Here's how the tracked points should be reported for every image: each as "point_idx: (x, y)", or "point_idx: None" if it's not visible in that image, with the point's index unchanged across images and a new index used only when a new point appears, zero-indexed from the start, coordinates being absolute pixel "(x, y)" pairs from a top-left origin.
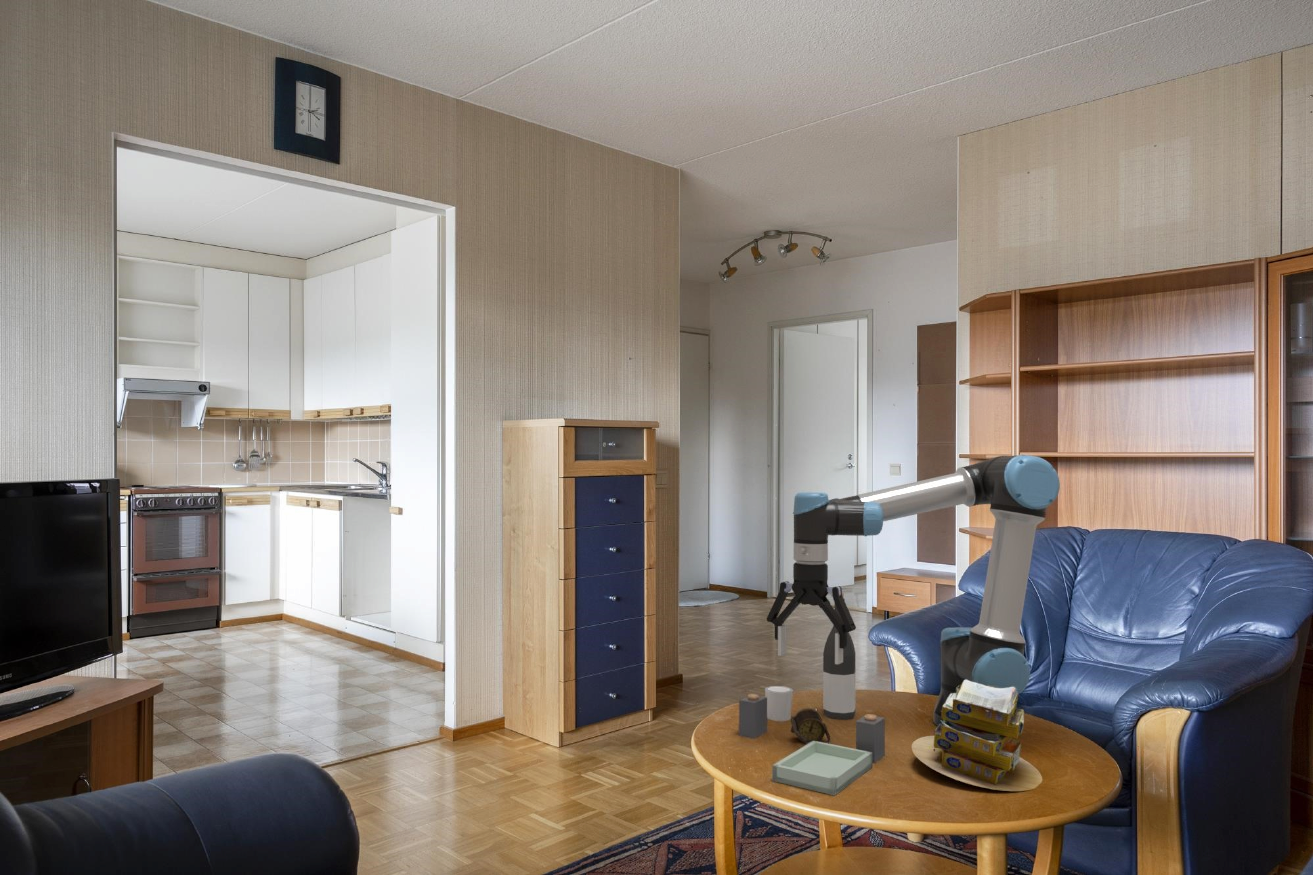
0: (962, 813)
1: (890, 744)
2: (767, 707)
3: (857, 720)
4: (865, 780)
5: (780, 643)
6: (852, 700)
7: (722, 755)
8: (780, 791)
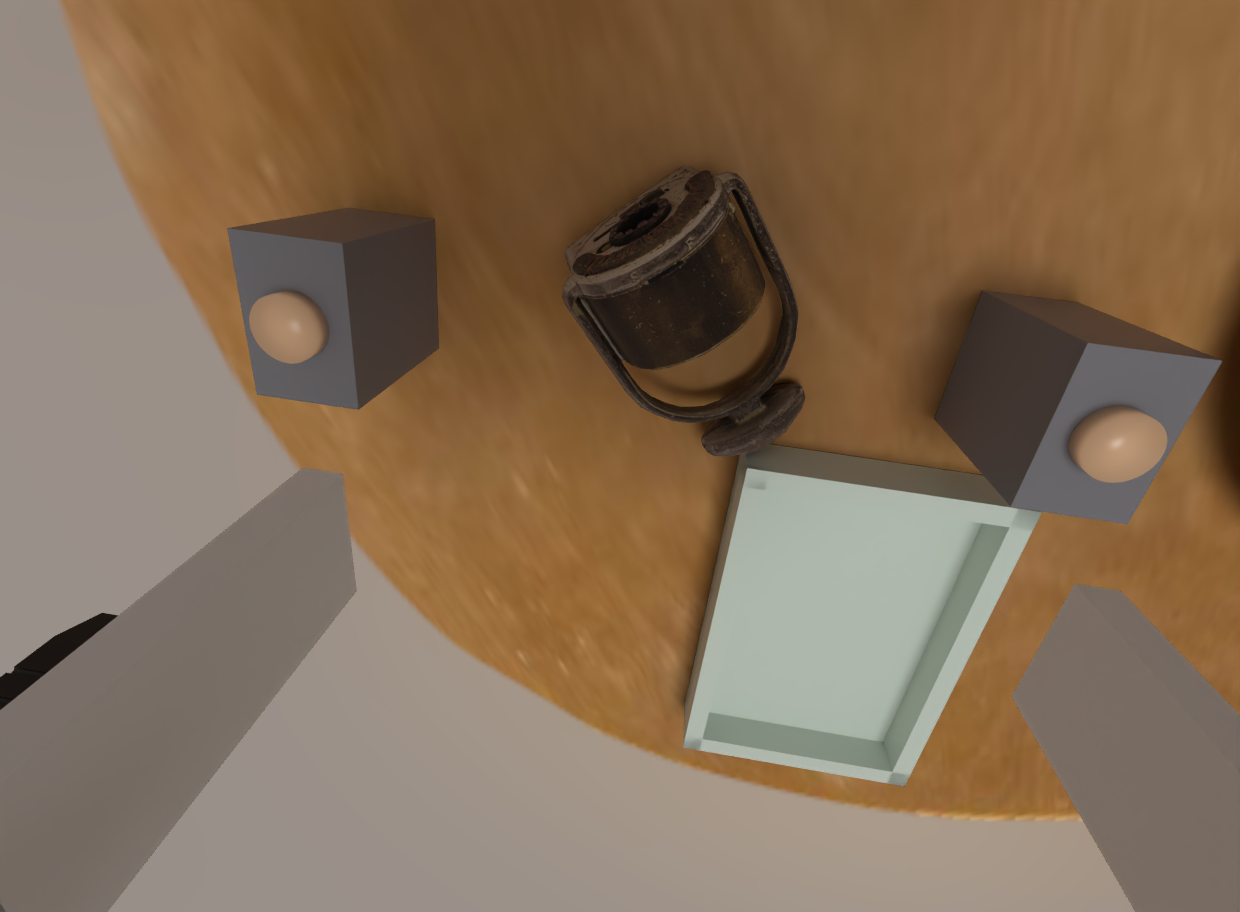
0: None
1: (1132, 73)
2: None
3: (1019, 489)
4: None
5: (264, 700)
6: None
7: (445, 576)
8: (731, 757)
